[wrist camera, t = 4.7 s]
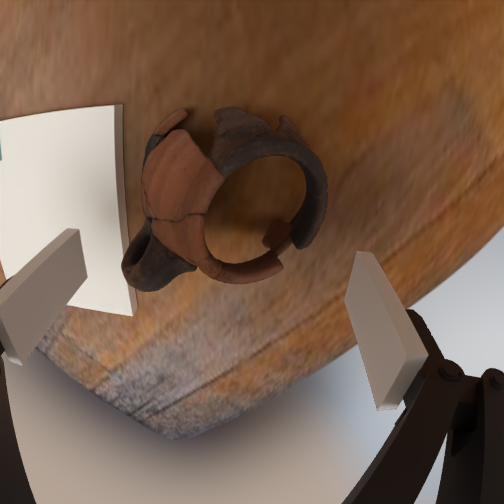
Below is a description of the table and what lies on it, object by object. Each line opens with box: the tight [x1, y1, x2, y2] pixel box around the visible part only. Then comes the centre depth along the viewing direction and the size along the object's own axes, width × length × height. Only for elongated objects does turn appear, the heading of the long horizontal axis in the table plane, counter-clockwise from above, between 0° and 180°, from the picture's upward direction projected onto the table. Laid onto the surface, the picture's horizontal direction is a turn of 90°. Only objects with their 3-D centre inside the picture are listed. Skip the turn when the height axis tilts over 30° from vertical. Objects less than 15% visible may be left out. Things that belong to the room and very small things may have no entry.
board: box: [0, 104, 138, 316], centre depth 20 cm, size 13×15×2 cm
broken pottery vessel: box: [121, 106, 328, 292], centre depth 17 cm, size 12×10×8 cm
